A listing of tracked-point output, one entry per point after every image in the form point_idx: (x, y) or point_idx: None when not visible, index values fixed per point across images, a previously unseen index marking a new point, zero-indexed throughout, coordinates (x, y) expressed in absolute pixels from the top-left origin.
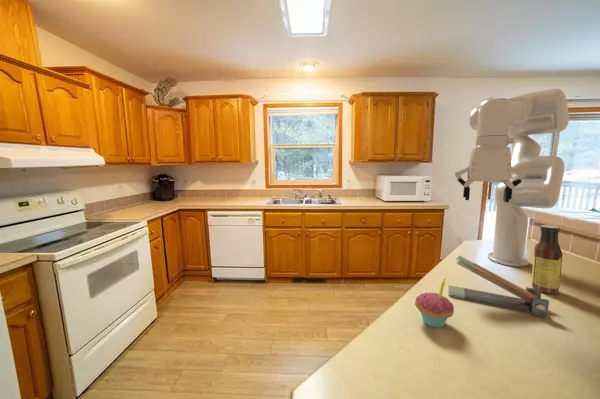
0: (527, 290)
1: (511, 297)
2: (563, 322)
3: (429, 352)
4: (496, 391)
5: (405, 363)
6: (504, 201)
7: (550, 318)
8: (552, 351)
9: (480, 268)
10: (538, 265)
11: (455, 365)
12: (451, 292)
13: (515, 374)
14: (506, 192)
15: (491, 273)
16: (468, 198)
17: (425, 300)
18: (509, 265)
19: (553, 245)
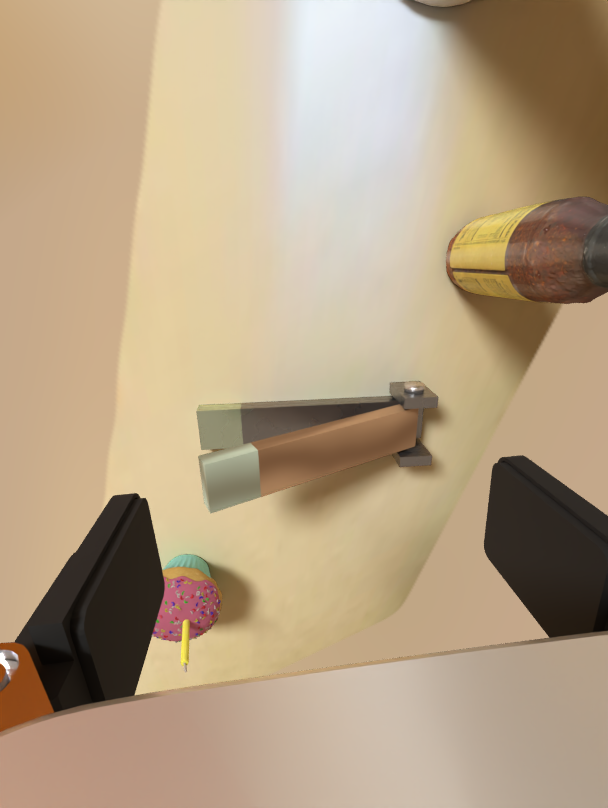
0: (403, 407)
1: (359, 407)
2: (441, 444)
3: (197, 645)
4: (285, 664)
5: (170, 679)
6: (495, 479)
7: (421, 439)
8: (381, 553)
9: (280, 468)
10: (493, 284)
11: (236, 650)
12: (209, 447)
13: (313, 627)
14: (547, 633)
15: (314, 450)
16: (155, 604)
17: (159, 637)
18: (435, 5)
19: (603, 291)
